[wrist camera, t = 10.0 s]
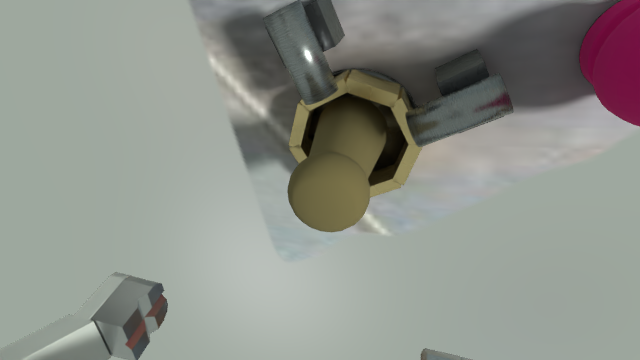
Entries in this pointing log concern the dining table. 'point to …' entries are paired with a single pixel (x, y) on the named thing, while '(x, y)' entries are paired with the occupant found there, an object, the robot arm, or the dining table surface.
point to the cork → (339, 165)
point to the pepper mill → (615, 59)
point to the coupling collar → (393, 106)
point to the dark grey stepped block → (307, 45)
